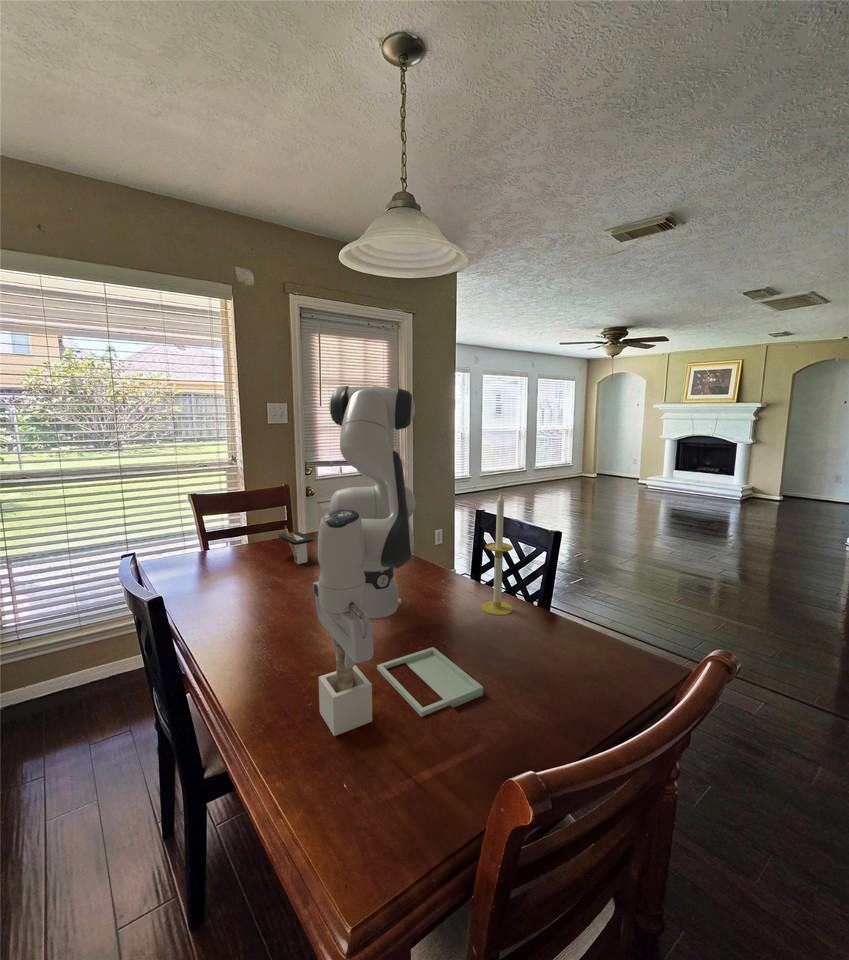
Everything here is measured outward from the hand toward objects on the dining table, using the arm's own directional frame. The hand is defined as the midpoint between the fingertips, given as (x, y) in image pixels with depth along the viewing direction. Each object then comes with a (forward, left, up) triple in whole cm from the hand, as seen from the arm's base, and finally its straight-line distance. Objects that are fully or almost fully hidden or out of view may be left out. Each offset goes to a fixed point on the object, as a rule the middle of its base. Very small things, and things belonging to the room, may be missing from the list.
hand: (344, 660), depth 91 cm
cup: (0, 0, -13) cm, 13 cm away
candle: (-24, +61, -13) cm, 67 cm away
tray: (-2, +21, -13) cm, 25 cm away
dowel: (0, 0, -11) cm, 11 cm away
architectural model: (-103, +21, -14) cm, 106 cm away
